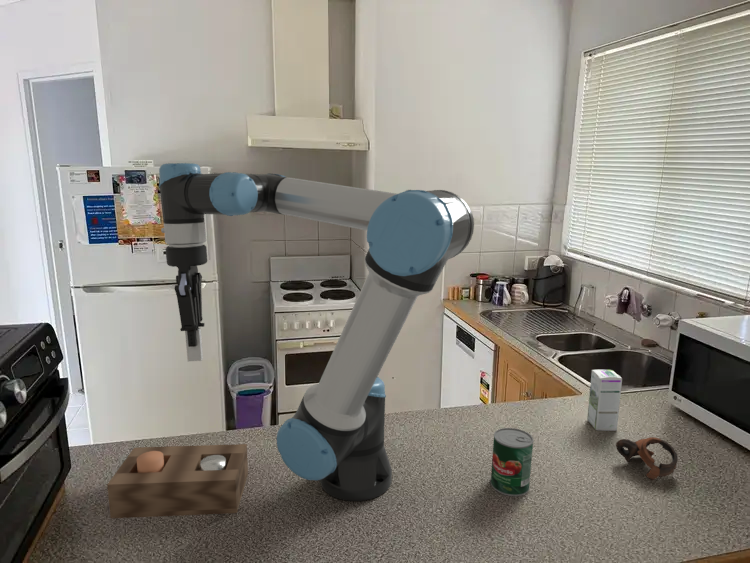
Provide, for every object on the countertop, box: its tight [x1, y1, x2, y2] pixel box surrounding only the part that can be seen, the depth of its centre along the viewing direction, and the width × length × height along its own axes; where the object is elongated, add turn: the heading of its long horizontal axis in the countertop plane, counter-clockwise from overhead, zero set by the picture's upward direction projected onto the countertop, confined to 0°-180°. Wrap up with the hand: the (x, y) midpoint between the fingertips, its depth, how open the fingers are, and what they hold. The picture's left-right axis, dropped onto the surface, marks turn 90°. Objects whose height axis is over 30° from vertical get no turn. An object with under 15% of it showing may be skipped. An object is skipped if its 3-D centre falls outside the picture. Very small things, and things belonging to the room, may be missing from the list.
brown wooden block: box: [106, 443, 249, 519], centre depth 101 cm, size 23×13×7 cm, turn 95°
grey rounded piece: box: [200, 455, 226, 471], centre depth 101 cm, size 5×5×6 cm
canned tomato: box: [490, 427, 535, 497], centre depth 105 cm, size 8×8×11 cm
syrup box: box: [586, 369, 623, 432], centre depth 131 cm, size 6×6×14 cm
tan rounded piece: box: [137, 451, 164, 473], centre depth 100 cm, size 5×5×6 cm
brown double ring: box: [615, 436, 679, 481], centre depth 112 cm, size 12×10×8 cm
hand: (195, 359), depth 103 cm, fingers closed
